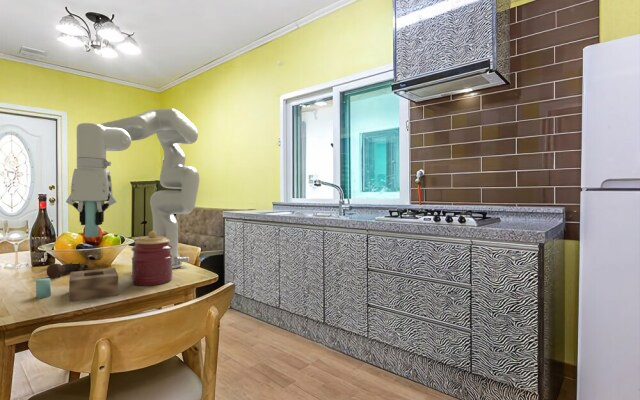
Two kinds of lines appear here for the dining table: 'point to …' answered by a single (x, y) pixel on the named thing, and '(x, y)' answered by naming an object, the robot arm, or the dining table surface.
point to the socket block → (93, 284)
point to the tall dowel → (90, 219)
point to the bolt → (63, 269)
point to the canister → (151, 260)
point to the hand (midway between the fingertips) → (91, 224)
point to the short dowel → (43, 288)
